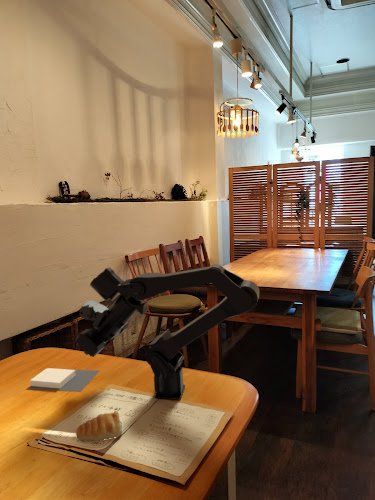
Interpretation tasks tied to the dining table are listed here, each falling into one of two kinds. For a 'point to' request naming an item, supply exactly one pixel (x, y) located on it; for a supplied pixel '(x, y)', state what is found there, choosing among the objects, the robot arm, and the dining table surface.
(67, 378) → the tile
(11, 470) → the dining table surface
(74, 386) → the mat
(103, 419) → the pastry
